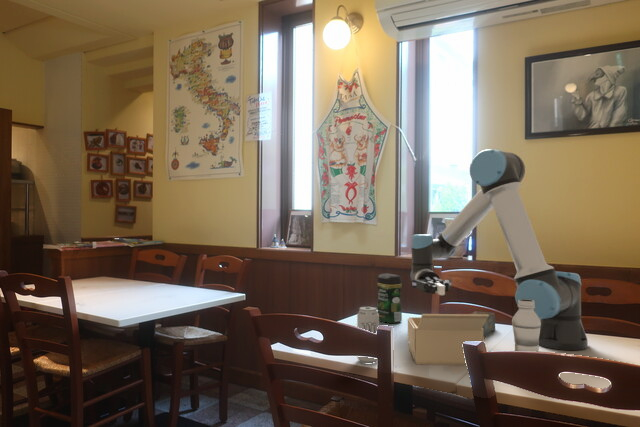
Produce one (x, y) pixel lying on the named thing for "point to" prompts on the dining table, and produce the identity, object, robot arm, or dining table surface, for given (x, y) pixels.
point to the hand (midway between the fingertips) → (442, 290)
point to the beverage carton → (487, 322)
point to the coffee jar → (389, 298)
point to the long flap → (452, 321)
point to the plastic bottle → (526, 326)
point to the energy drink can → (368, 325)
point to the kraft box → (439, 344)
